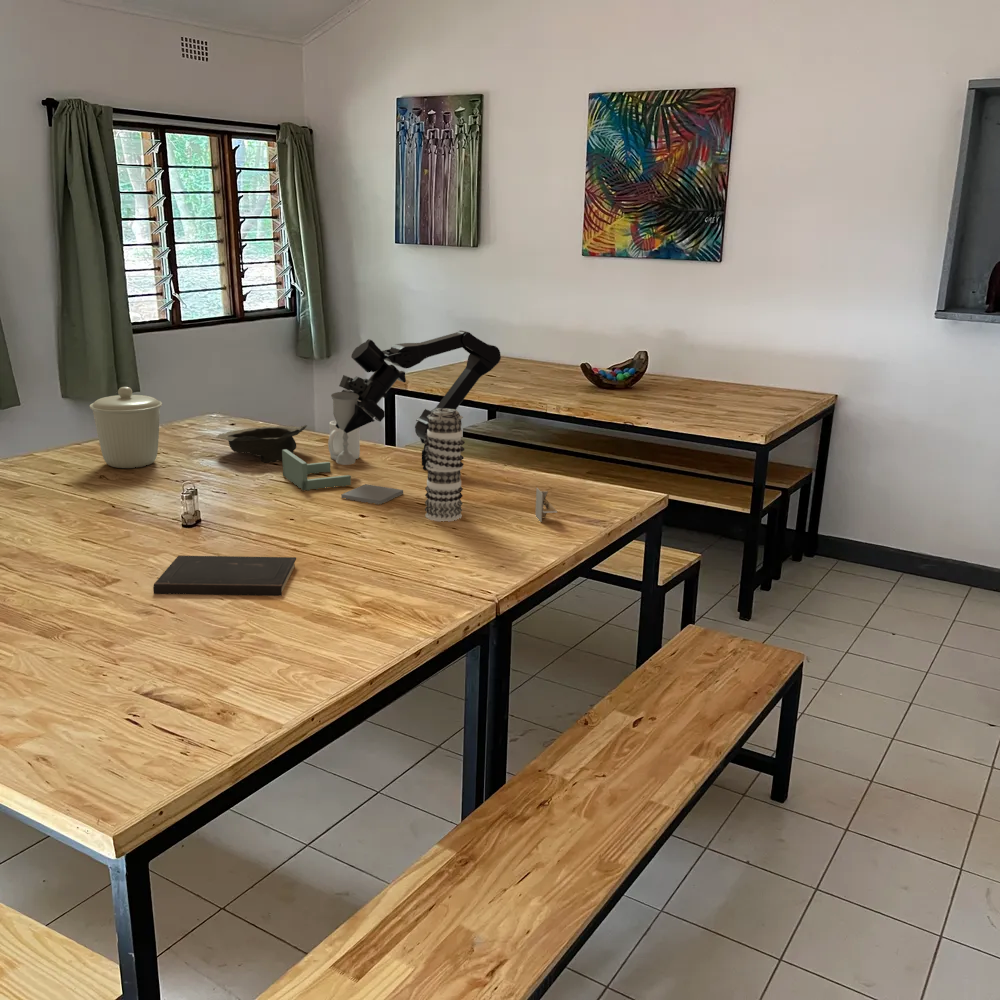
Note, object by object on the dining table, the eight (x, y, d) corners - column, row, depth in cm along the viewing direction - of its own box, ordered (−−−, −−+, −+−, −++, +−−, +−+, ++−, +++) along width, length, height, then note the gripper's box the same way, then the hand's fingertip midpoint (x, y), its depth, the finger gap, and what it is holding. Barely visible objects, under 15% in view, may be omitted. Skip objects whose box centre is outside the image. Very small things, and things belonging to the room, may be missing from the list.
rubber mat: (365, 487, 248) (365, 484, 248) (403, 493, 244) (403, 489, 243) (341, 498, 238) (341, 494, 238) (380, 504, 234) (380, 500, 234)
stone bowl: (298, 466, 266) (294, 433, 263) (207, 470, 266) (202, 437, 263) (316, 444, 289) (312, 414, 286) (232, 448, 290) (228, 418, 287)
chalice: (363, 459, 259) (363, 394, 252) (352, 467, 253) (352, 401, 246) (338, 455, 261) (338, 390, 254) (327, 463, 255) (326, 397, 248)
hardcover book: (178, 566, 192) (178, 555, 191) (296, 568, 193) (296, 557, 192) (153, 596, 176) (152, 584, 176) (281, 598, 177) (281, 586, 177)
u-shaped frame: (328, 470, 263) (328, 445, 261) (351, 485, 250) (350, 458, 248) (283, 475, 257) (282, 449, 255) (303, 490, 243) (302, 463, 241)
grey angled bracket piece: (549, 517, 230) (550, 487, 228) (556, 526, 223) (557, 495, 221) (534, 517, 229) (536, 487, 227) (541, 526, 223) (543, 495, 221)
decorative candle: (415, 515, 226) (415, 409, 219) (444, 508, 233) (445, 404, 226) (442, 524, 220) (444, 415, 213) (471, 516, 227) (473, 410, 220)
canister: (140, 452, 276) (134, 378, 270) (180, 463, 266) (175, 386, 260) (81, 464, 262) (73, 386, 256) (121, 476, 252) (114, 395, 246)
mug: (341, 465, 269) (341, 429, 266) (316, 462, 272) (315, 425, 269) (365, 456, 279) (365, 421, 276) (341, 453, 282) (340, 418, 279)
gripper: (344, 358, 258) (306, 403, 256) (371, 369, 243) (331, 417, 241) (373, 385, 264) (336, 429, 262) (401, 397, 249) (362, 444, 247)
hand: (340, 429), depth 253 cm, fingers closed on chalice, 6 cm apart
